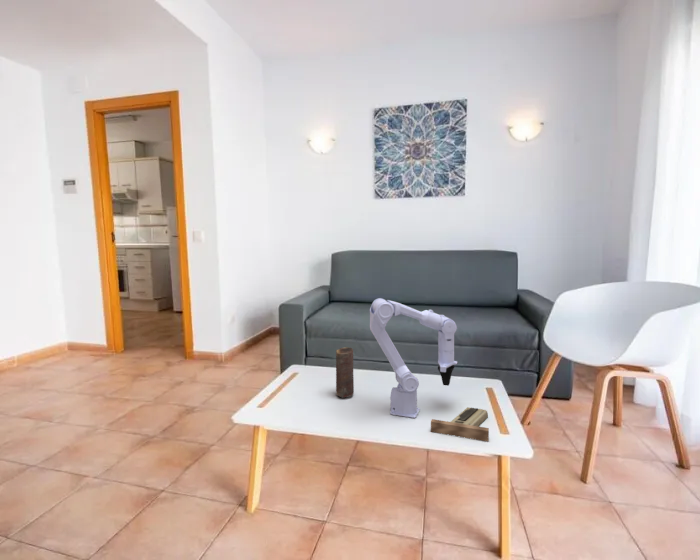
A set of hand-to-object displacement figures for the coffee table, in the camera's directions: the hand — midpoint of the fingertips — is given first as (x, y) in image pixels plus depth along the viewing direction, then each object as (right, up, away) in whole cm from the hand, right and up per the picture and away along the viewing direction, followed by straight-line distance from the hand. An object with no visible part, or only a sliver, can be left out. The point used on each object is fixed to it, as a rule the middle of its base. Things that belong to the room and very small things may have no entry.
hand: (446, 384), depth 141 cm
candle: (-38, -9, +15) cm, 42 cm away
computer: (+5, -11, -10) cm, 16 cm away
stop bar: (-1, -11, -19) cm, 22 cm away
